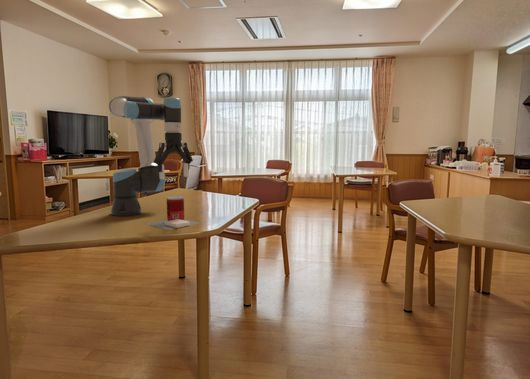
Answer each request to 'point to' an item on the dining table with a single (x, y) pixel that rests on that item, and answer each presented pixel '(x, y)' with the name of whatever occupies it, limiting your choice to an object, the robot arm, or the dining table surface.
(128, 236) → the dining table surface
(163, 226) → the slate board
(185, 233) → the dining table surface
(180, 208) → the canned food
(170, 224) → the tile
